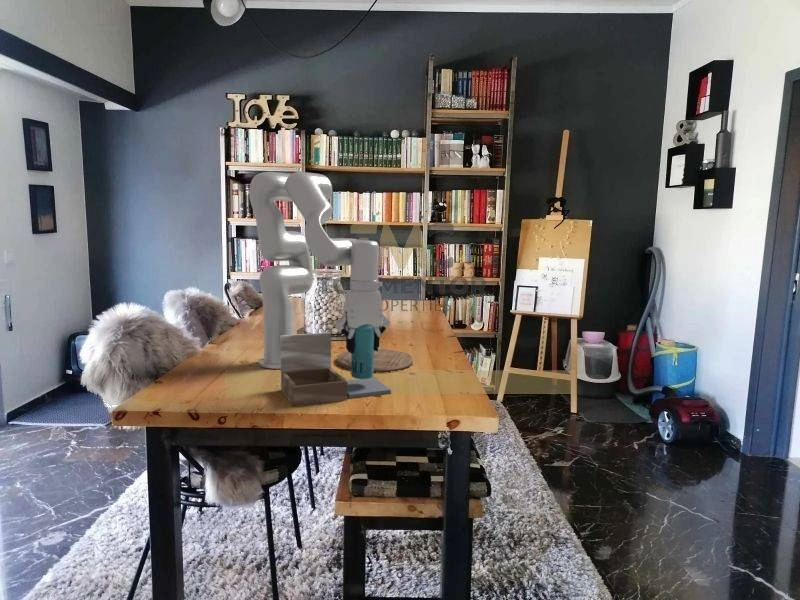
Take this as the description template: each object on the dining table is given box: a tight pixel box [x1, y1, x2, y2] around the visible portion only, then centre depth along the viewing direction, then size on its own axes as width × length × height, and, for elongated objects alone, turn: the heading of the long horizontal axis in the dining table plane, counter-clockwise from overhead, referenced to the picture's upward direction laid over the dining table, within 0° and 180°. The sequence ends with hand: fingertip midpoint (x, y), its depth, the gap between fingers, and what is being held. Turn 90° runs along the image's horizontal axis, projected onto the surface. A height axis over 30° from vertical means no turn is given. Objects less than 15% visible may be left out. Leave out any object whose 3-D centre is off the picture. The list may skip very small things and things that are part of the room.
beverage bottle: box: [350, 324, 375, 379], centre depth 144 cm, size 6×7×20 cm
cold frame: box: [280, 331, 348, 407], centre depth 139 cm, size 15×14×15 cm
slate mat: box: [346, 377, 392, 399], centre depth 146 cm, size 12×12×1 cm
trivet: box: [336, 348, 414, 374], centre depth 174 cm, size 25×25×2 cm
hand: (362, 350), depth 144 cm, fingers closed on beverage bottle, 6 cm apart
